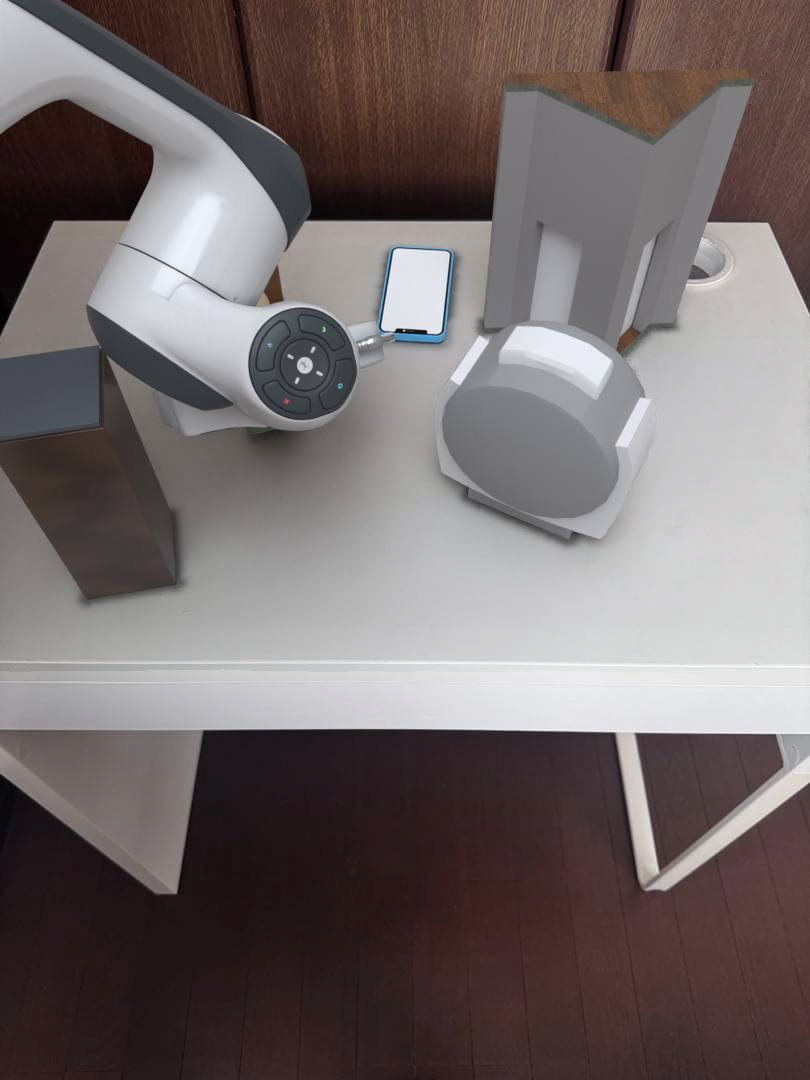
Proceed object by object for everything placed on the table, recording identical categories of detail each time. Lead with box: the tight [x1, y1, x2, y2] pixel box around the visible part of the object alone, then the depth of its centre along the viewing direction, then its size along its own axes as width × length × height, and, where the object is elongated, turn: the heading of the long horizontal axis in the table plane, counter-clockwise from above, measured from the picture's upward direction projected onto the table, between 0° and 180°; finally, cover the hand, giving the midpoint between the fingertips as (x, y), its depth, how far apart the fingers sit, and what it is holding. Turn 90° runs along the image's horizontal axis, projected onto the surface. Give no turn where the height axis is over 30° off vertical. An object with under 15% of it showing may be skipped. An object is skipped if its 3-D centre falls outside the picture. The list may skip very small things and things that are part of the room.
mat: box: [0, 344, 101, 441], centre depth 62 cm, size 8×8×1 cm
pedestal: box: [0, 347, 177, 600], centre depth 72 cm, size 8×8×22 cm
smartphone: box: [376, 245, 454, 343], centre depth 99 cm, size 8×1×15 cm
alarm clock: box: [434, 321, 657, 540], centre depth 76 cm, size 18×8×20 cm, turn 62°
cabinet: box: [482, 67, 756, 356], centre depth 83 cm, size 21×10×28 cm, turn 92°
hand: (262, 371), depth 82 cm, fingers open, 8 cm apart
